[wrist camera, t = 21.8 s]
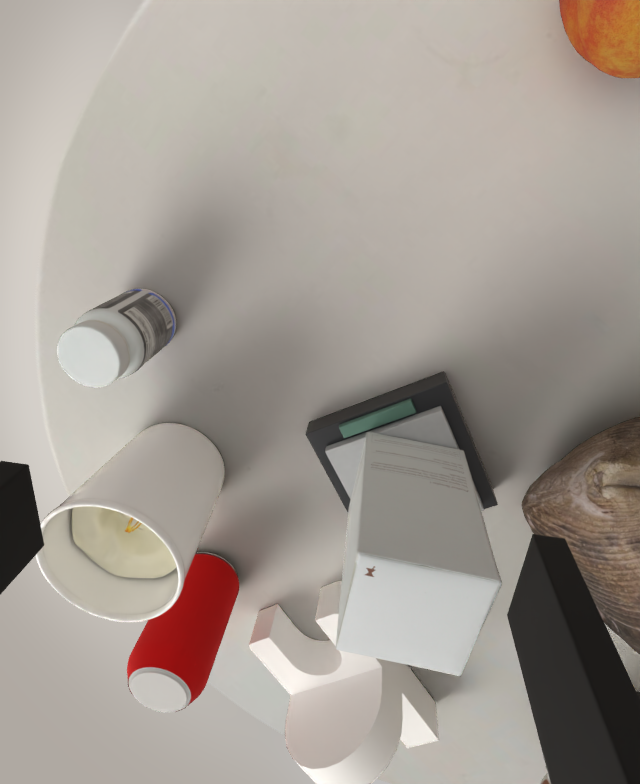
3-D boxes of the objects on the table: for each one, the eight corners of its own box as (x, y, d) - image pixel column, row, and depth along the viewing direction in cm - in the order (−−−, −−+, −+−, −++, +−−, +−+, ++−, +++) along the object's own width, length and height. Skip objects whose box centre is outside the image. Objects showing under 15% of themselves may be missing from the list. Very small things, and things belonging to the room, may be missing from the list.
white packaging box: (346, 509, 40) (329, 651, 28) (366, 427, 36) (356, 550, 25) (440, 530, 39) (461, 682, 28) (468, 449, 36) (505, 583, 25)
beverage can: (235, 545, 46) (188, 664, 35) (248, 597, 49) (207, 722, 38) (172, 546, 47) (107, 662, 36) (187, 597, 50) (131, 719, 39)
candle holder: (228, 415, 41) (170, 508, 30) (239, 515, 45) (191, 629, 34) (112, 410, 42) (15, 498, 31) (133, 508, 46) (53, 616, 35)
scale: (309, 421, 40) (303, 439, 37) (444, 371, 37) (448, 386, 34) (365, 528, 44) (364, 550, 41) (493, 489, 40) (500, 511, 38)
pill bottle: (116, 341, 39) (50, 384, 32) (117, 281, 37) (47, 312, 30) (176, 354, 39) (124, 401, 31) (180, 295, 37) (126, 330, 29)
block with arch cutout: (435, 702, 51) (446, 833, 41) (352, 725, 54) (343, 852, 44) (343, 578, 46) (330, 694, 36) (256, 612, 49) (222, 726, 39)
